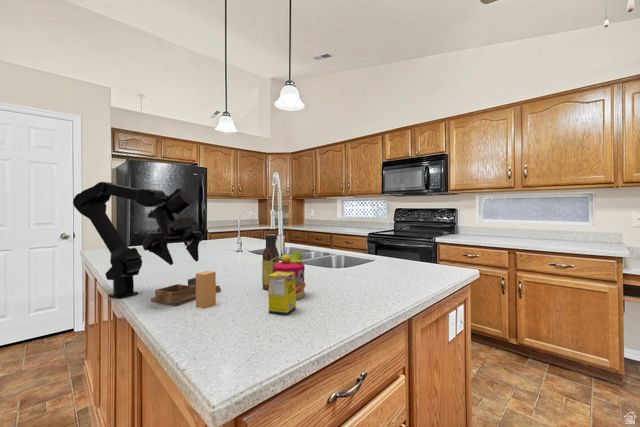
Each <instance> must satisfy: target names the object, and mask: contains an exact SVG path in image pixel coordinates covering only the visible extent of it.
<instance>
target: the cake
mask: <svg viewBox="0 0 640 427" xmlns="http://www.w3.org/2000/svg"><path fill="white" fill-rule="evenodd" d="M303 255H304V254H303V251H302V252H301V251H298V250H294V251H292V253H291V255H290V254H283V255H282V257H281V259H280V260H281V261H279V263H276V264H275V265H274V273H275V272H277V271H281V272H295V293H296V294H295V295H296V301H299V300H302V299H303V298H304V297H305V288H306V282H305V271H306V270H305V269H306V268H305V264H304V263H303V260H302V259H301V258H302V257H303Z"/></svg>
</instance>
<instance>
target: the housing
mask: <svg viewBox="0 0 640 427" xmlns="http://www.w3.org/2000/svg"><path fill="white" fill-rule="evenodd" d="M219 292H222V288H221V286H220V285H217V284H216V294H217V293H219ZM150 300H151V302H152V303H156V304H162V305H168V306H171V307H179V306H180V305H183V304H186V303H189V302H193V301H196V277H191V278H189V279H187V285H185V284H180V283H176V284H174V285H170V286H165V287H162V288H158V289H154V296H153V297H151V298H150Z"/></svg>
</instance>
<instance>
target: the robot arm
mask: <svg viewBox="0 0 640 427" xmlns="http://www.w3.org/2000/svg"><path fill="white" fill-rule="evenodd" d="M112 196H113V197H118V198H123V199H126V200H127V199H128V200H131V201H134V202H136V204H138V205H140V206H143V207H146V208H154V209H150V212H149V213H148V214H147V218H148V219H153V220H155V221H156V224H157V226H158V228H157V229H156V231H157V232H151V233H150V234H148V236H146V238H145V239H144V240H143V241H142V244H141V245H142V248H143V251H148V252H149V253H152V254H154V255H156V256H158V257H159V258H160V259H162V260H163V261H164V262H165V263H167V264H168V265H170V266H172V265H173V264H174V260H173V258H172V254H171V253H170V250H169V248H168V244H177V243H178V244H179V243H180V244H181V243H183V245H184V246H185V249H186V251H187V252H188V254H189V256H191V258H192V259H193V260H194V261H195V262H198V261H199V244H200V243H201V242H202V240H204V239H205V235H204V233H203V232H202V231H191V232H189V234H188V235H186V233H188V231H187V230H190V229H194V227H196V226H197V220H196V218H195V217H194V216H188V217H179V218H176V216H175V215H181V214H182V213H184V211H186V210H187V209H189V208H190V207H191V206H193V204H194V202H195V201H194V199H193V197H192V196H191V195H190V194H189V193H187V192H186V191H184V190H183V188H176V189H175V190H174V191H173V192H172V193H171V194H170V195H166V193H165V192H164V191H163V190H159V189H158V190H157V189H147V188H145V189H144V188H140V189H138V188H134V187H129V186H125V185H120V184H117V183H116V184H115V183H113V182H107V181H100V182H97V183H96V184H95V185H94V186H90V187H88V188H86V189H84V190H82V191H81V192H79V193H77V194H76V195H75V196H74V197H73V200H72V204H73V206H74V208H75V209H76V210H77V212H79V214H80V215H83V216H84V217H86V218H87V219H89V220H90V222H91V223H92V225H93V226H94V229H95V230H96V232H97V233H98V235H99V236H100V238H101V240H102V241H103V243H104V244H105V246H106V248H107V250H109V252H110V262H109V263H110V264H111V266H110V268H109V269H108V270H107V271H106V272H105V274H104V275H105V278H106V280H107V281H112V293H109V294H108V297H111V298H115V299H122V298H127V297H130V296H134V295H137V294H139V292H138V291H135V290H134V289H135V288H134V276H139V273H140V270H141V268H142V266H143V259H142V257H143V256H142V255H141V254H140V253H139V251H138V248H136V247H132V248H130V247H128V246H127V245H126V244H125V242H124V240H123V239H122V236H121V235H120V234H119V232H118V231H117V229H116V227H115V226H114V224H113V223H112V221H111V219H110V217H109V216H108V214H107V213H106V212H107V202H109V201H110V199H111V197H112Z"/></svg>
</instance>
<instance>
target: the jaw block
mask: <svg viewBox="0 0 640 427" xmlns="http://www.w3.org/2000/svg"><path fill="white" fill-rule="evenodd" d="M216 274H217V273H216V271H210V270H205V271H201V272H196V273H195V278H196V300H195V307H197V308H201V309H207V308H209V307H212V306H215V305H216V304H217V298H216V297H217V293H216V285H217V283H216V282H217V281H216Z"/></svg>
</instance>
